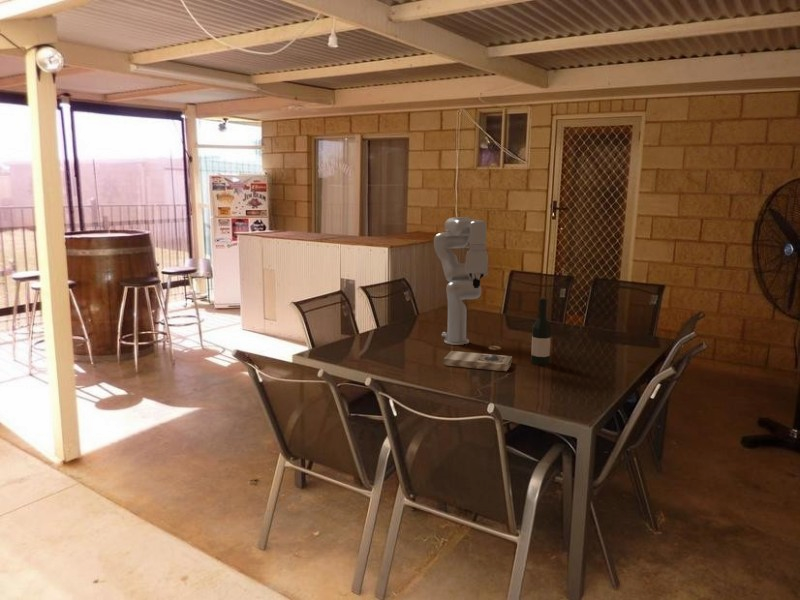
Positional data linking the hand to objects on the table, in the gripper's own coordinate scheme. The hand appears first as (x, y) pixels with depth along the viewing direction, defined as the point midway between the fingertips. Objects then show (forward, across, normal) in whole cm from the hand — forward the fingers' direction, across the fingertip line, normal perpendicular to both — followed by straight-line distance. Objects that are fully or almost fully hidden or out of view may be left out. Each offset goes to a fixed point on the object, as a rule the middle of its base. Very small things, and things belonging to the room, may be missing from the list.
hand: (476, 287), depth 279 cm
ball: (+30, +11, -14) cm, 35 cm away
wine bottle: (+32, +31, -4) cm, 45 cm away
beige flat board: (+32, +4, -14) cm, 35 cm away
